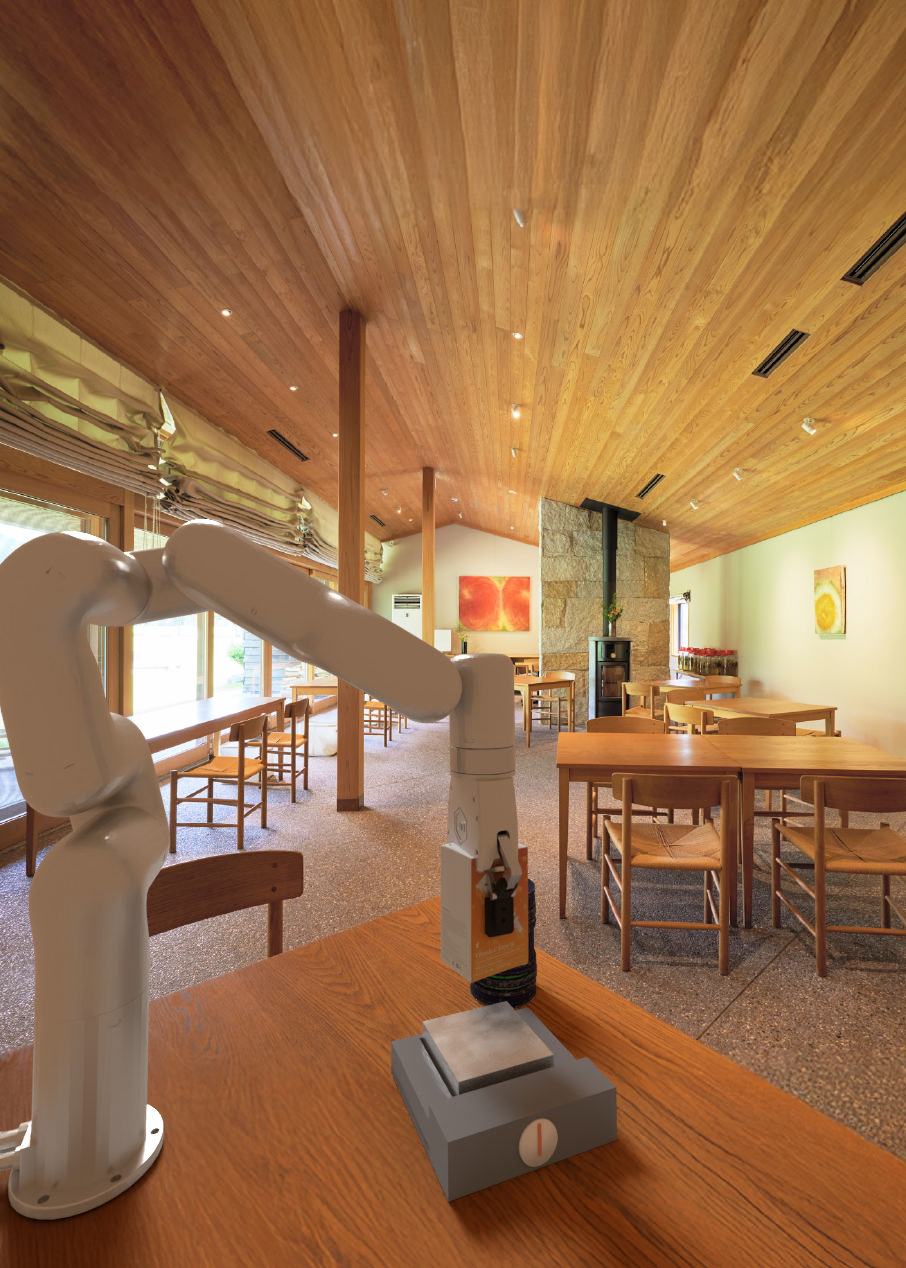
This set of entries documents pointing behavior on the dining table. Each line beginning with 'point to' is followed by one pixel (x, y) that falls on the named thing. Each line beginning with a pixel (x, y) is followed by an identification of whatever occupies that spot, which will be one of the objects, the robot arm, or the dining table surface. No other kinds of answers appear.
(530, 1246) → the dining table surface
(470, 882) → the small box
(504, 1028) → the pan
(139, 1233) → the dining table surface
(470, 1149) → the scale
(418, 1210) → the dining table surface
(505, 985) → the navy cylindrical canister
